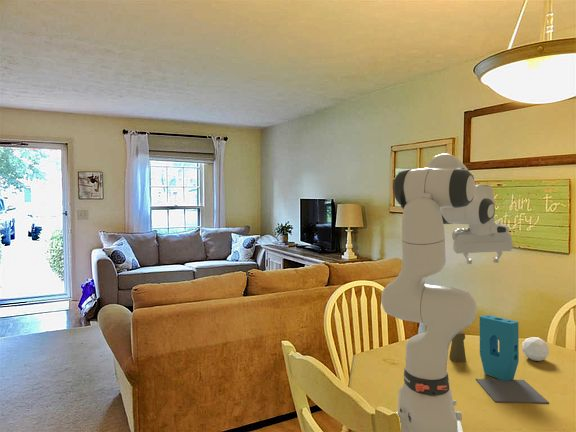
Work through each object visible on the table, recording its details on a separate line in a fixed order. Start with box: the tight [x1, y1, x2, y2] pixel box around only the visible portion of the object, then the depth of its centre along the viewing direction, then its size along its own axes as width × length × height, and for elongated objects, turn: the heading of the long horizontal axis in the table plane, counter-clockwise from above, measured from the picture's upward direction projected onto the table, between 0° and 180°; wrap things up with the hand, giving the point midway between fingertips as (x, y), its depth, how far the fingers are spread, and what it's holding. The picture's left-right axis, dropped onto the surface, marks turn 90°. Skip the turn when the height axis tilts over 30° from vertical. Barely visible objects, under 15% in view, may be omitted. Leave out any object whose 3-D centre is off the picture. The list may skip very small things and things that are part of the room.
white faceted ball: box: [521, 336, 550, 362], centre depth 157 cm, size 9×9×12 cm
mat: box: [475, 378, 550, 404], centre depth 131 cm, size 15×16×1 cm
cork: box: [448, 330, 467, 363], centre depth 157 cm, size 6×6×11 cm
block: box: [479, 314, 520, 381], centre depth 142 cm, size 12×5×20 cm, turn 31°
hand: (482, 263), depth 152 cm, fingers open, 8 cm apart
